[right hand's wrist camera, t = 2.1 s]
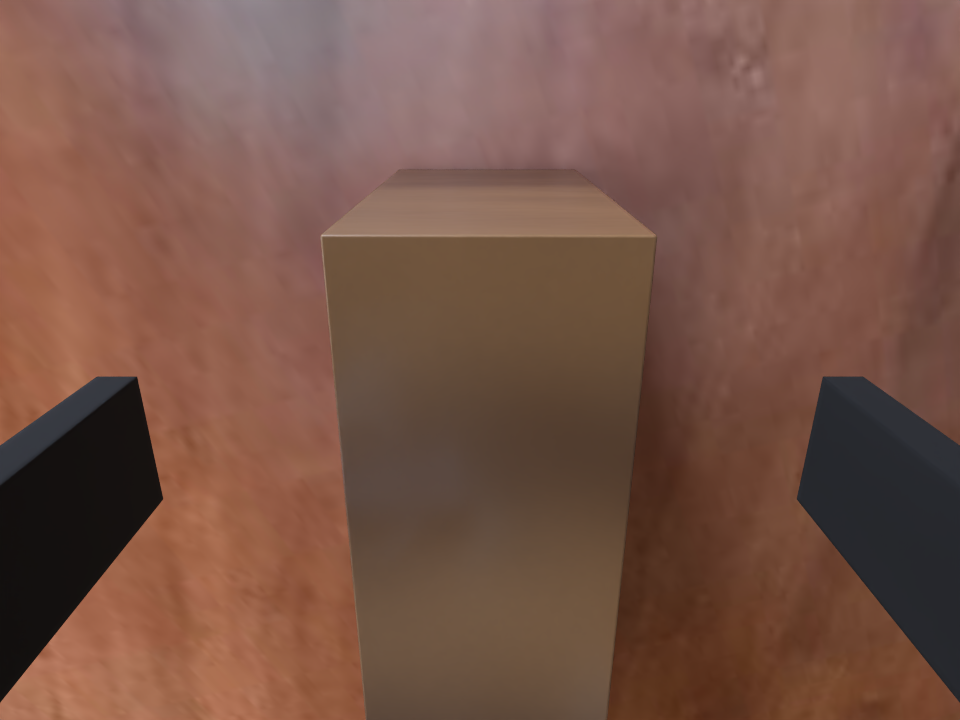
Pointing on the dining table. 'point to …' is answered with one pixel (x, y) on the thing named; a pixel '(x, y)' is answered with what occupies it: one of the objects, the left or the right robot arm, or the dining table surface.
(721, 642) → the dining table surface
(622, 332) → the box
